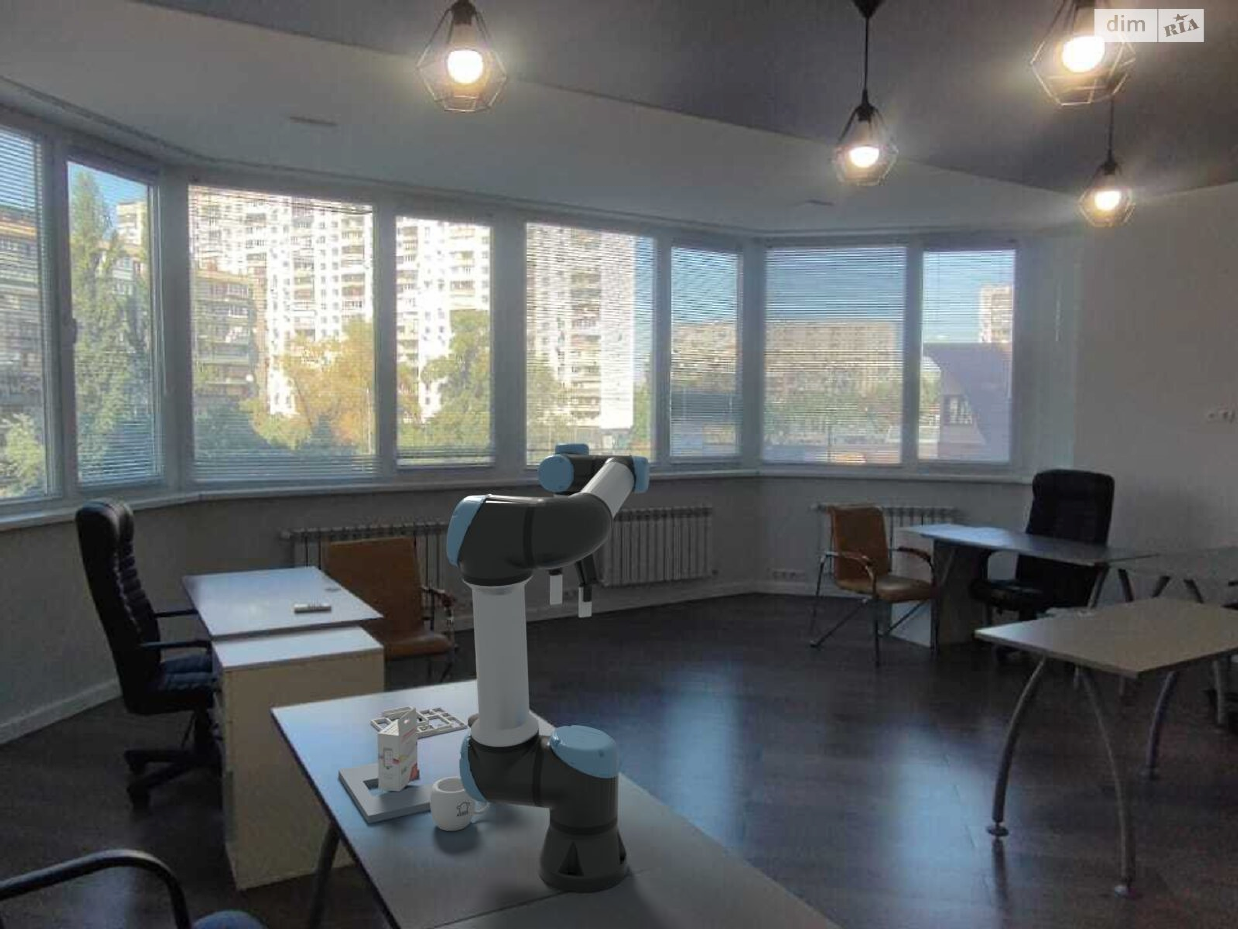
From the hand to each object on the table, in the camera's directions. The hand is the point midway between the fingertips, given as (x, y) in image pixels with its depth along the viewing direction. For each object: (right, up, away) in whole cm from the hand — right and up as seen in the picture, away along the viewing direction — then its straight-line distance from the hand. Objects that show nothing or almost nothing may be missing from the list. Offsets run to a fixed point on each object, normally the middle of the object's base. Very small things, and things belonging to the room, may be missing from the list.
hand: (570, 610), depth 189 cm
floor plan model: (-42, -33, +24) cm, 59 cm away
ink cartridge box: (-35, -34, -12) cm, 50 cm away
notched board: (-36, -35, -12) cm, 52 cm away
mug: (-19, -36, -25) cm, 48 cm away
